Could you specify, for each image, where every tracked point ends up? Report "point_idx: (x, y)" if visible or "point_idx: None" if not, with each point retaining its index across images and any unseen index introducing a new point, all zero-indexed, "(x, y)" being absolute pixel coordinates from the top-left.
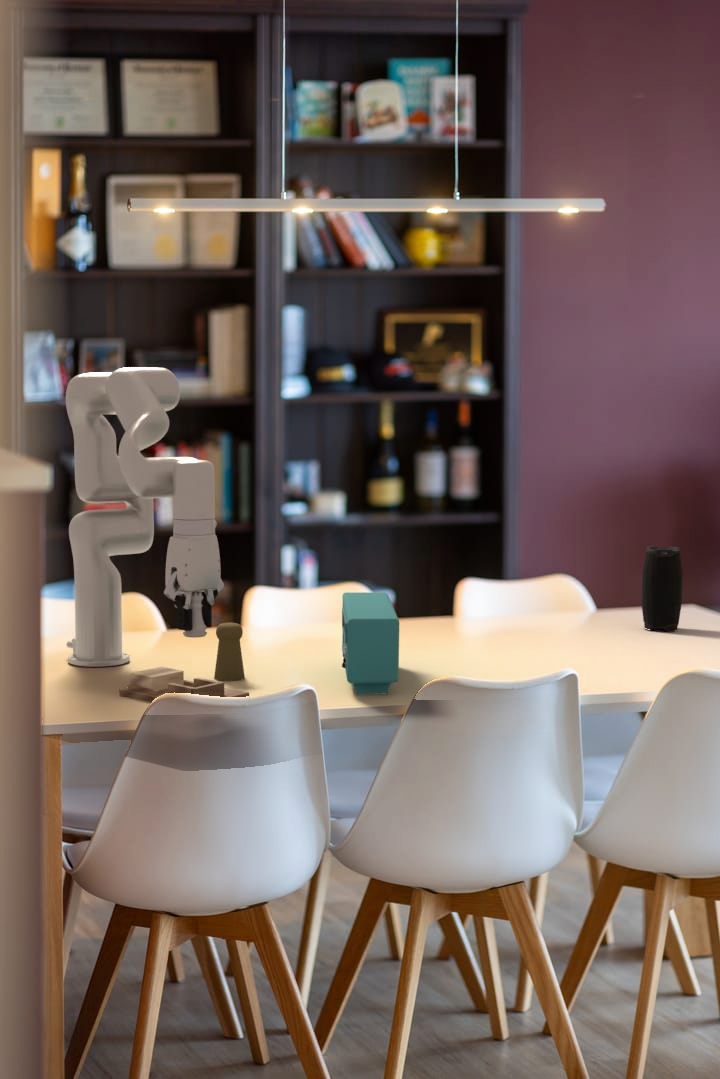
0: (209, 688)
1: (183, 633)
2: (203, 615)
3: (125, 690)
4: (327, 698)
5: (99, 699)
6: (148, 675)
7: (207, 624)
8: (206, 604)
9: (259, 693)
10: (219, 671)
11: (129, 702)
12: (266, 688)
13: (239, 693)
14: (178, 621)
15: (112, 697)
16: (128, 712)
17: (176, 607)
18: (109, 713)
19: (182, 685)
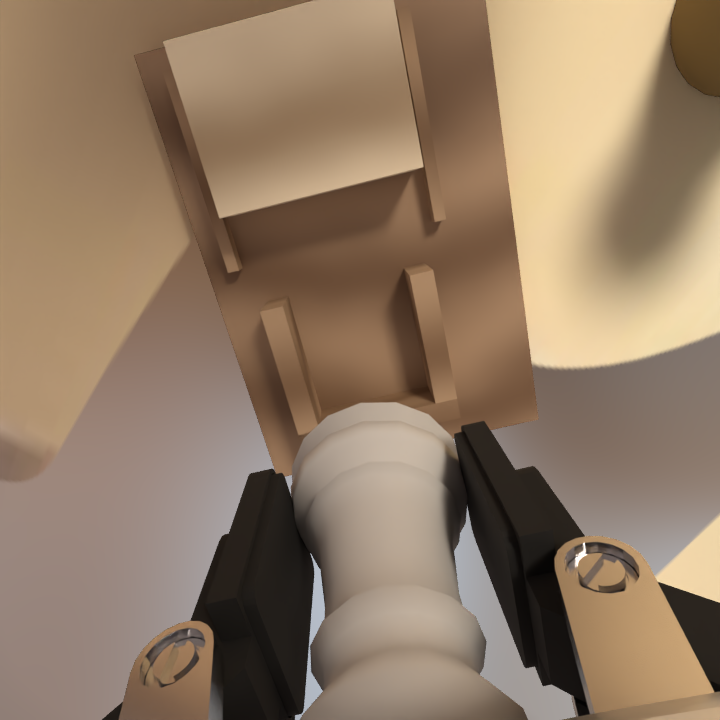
0: None
1: (295, 463)
2: (487, 550)
3: (152, 98)
4: (712, 526)
5: (44, 77)
6: (223, 166)
7: (477, 536)
8: (543, 664)
9: (615, 355)
10: (705, 20)
11: (141, 211)
12: (693, 299)
13: (501, 414)
14: (219, 553)
15: (109, 73)
16: (82, 357)
17: (165, 648)
18: (14, 334)
19: (296, 373)
